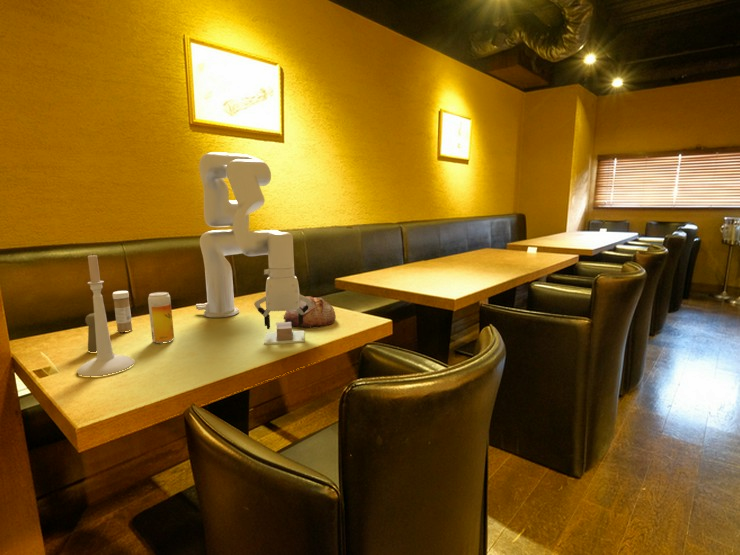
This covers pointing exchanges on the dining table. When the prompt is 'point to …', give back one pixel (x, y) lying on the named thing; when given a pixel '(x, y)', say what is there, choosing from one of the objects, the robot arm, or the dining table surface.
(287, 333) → the brown rectangular block
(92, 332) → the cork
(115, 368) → the candlestick
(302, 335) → the mat
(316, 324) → the bread
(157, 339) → the beer can
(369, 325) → the dining table surface
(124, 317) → the sprinkles bottle
